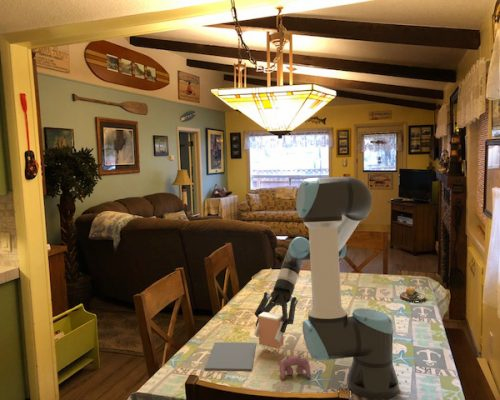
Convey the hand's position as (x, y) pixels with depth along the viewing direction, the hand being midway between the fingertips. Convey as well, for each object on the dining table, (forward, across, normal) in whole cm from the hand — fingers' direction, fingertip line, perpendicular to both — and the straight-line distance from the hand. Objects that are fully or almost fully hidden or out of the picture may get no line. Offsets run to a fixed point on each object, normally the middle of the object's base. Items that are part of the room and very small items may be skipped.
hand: (266, 337), depth 151 cm
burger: (-56, -34, -65) cm, 92 cm away
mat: (+10, +10, +1) cm, 14 cm away
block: (0, 0, -5) cm, 5 cm away
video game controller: (+11, -15, +1) cm, 19 cm away
